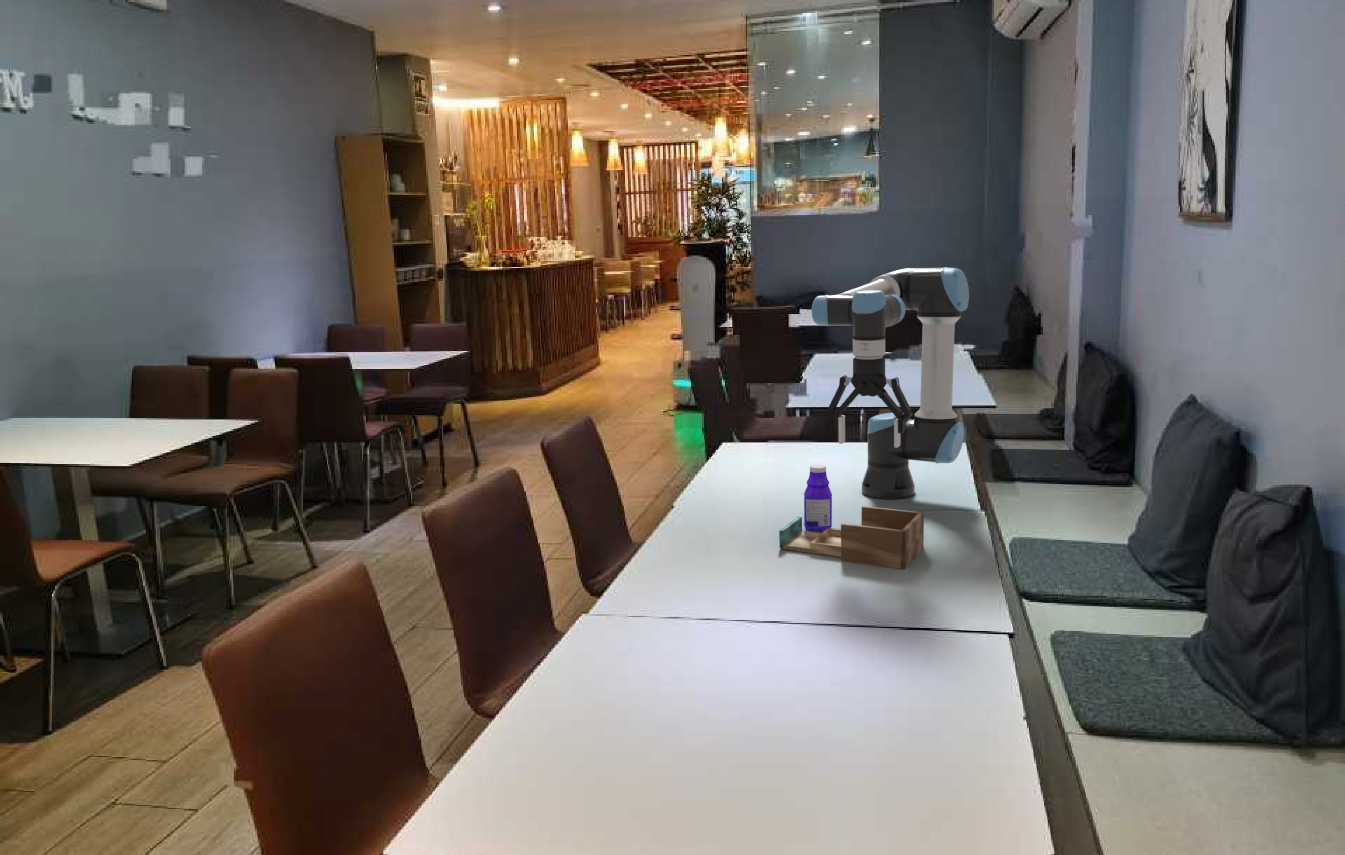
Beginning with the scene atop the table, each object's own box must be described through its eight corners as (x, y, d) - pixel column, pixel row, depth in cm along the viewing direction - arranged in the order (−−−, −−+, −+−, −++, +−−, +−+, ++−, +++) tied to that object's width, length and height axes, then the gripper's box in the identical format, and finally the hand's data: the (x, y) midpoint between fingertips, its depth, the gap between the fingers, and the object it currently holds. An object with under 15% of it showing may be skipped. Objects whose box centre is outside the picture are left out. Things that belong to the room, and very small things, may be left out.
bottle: (831, 527, 253) (831, 462, 249) (833, 534, 248) (832, 468, 244) (803, 527, 254) (802, 463, 250) (804, 534, 248) (803, 469, 245)
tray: (798, 533, 248) (798, 516, 247) (879, 543, 238) (879, 525, 237) (779, 548, 238) (779, 530, 237) (862, 559, 227) (862, 541, 226)
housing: (862, 540, 242) (862, 505, 240) (923, 547, 234) (923, 512, 233) (841, 560, 228) (840, 524, 226) (904, 569, 221) (904, 531, 219)
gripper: (813, 357, 230) (814, 444, 235) (918, 360, 219) (917, 451, 223) (823, 353, 237) (824, 437, 241) (926, 355, 225) (925, 444, 229)
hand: (869, 444), depth 232 cm, fingers open, 13 cm apart
